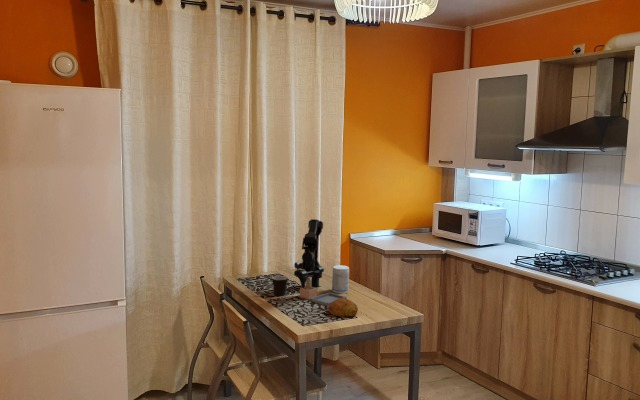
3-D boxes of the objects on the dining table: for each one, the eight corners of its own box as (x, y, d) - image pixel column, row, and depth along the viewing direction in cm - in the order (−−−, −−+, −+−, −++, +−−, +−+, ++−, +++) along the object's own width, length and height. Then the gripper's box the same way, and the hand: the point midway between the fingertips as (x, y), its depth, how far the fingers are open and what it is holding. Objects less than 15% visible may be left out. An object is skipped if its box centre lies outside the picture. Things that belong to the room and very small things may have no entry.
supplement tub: (331, 289, 299) (332, 264, 298) (347, 289, 299) (348, 265, 297) (332, 294, 289) (332, 268, 288) (348, 294, 289) (349, 269, 288)
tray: (329, 296, 285) (329, 292, 285) (346, 300, 278) (346, 296, 277) (310, 302, 273) (310, 298, 273) (327, 307, 265) (327, 303, 265)
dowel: (308, 295, 283) (308, 276, 282) (312, 296, 281) (312, 277, 280) (304, 296, 280) (305, 277, 279) (308, 297, 279) (309, 278, 277)
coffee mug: (284, 298, 279) (285, 280, 277) (269, 296, 280) (270, 279, 279) (290, 292, 290) (290, 275, 289) (275, 291, 292) (276, 274, 290)
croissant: (346, 310, 268) (346, 295, 268) (362, 316, 254) (362, 299, 254) (322, 313, 261) (322, 297, 262) (337, 318, 248) (337, 302, 248)
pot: (307, 295, 286) (308, 285, 285) (317, 297, 281) (317, 288, 281) (299, 297, 280) (300, 288, 280) (308, 300, 276) (309, 290, 275)
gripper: (309, 253, 291) (309, 280, 292) (287, 258, 276) (286, 286, 278) (324, 257, 283) (323, 284, 285) (302, 262, 269) (301, 290, 271)
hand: (308, 286), depth 280 cm, fingers open, 9 cm apart
